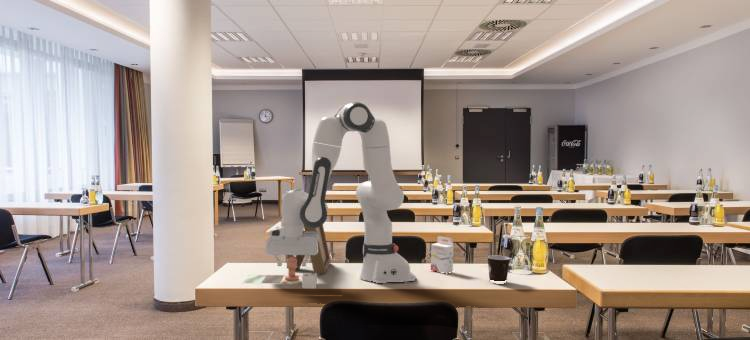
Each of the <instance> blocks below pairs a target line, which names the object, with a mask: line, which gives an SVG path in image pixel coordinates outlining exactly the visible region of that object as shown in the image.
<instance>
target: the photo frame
mask: <svg viewBox="0 0 750 340" xmlns="http://www.w3.org/2000/svg"><path fill="white" fill-rule="evenodd" d="M304 231H315V232H317V233H318V234H319V241H318V242H317V243H318V253H317V254H316V255H309V257H310V260H311V265H312V270H313V273H317V275H324V274H326V272H327V271H328V268H329V267H330V264H331V263H332V261H331V257H330V251H329V247H328V246H329V245H328V242H327V239H326V234H325V233H326V232H325V228H324V224H323V225H321V226H320V227H317V228H310V227H307V226H306V225H304ZM315 234H316V233H315ZM294 257H295V258H296V260H297V268H296V269H295V271H297V270H300V269H301V267H302V261H304V260H305V255H295V256H294Z"/></svg>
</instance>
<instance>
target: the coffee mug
mask: <svg viewBox="0 0 750 340" xmlns="http://www.w3.org/2000/svg"><path fill="white" fill-rule="evenodd" d="M510 260H511V259H510V257H509V256H506V255H501V254H500V255H497V254H492V255H487V267H488V277H489V279H490V280H494V281H505V280H508V274H509V273H508V272H509V269H510V268H509V267H510ZM490 280H489V281H490Z"/></svg>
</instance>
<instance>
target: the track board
mask: <svg viewBox="0 0 750 340" xmlns="http://www.w3.org/2000/svg"><path fill="white" fill-rule="evenodd" d="M286 275H287V274H285V275H284V274H282V275H281V274H248V275H247V276H246V277H245V279H244V280H243V281H242V284H300V283H301V281H302V276H303V274H301V275H300V274H299V275H298V274H297V275H298V276H299V279H298V280H296V281H287V280H285V276H286Z"/></svg>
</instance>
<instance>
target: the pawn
mask: <svg viewBox="0 0 750 340" xmlns="http://www.w3.org/2000/svg"><path fill="white" fill-rule="evenodd" d="M295 257H296V256H295V255H289V256H288V257H287V258H288V259H286V269H288V272H287V273H288V274H285V275H286V276H285V275H284V276H285V280H287V281H296V280H298V279H299V276H298V274H296V270H295V269H296V268H297V260H296V258H295Z"/></svg>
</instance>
